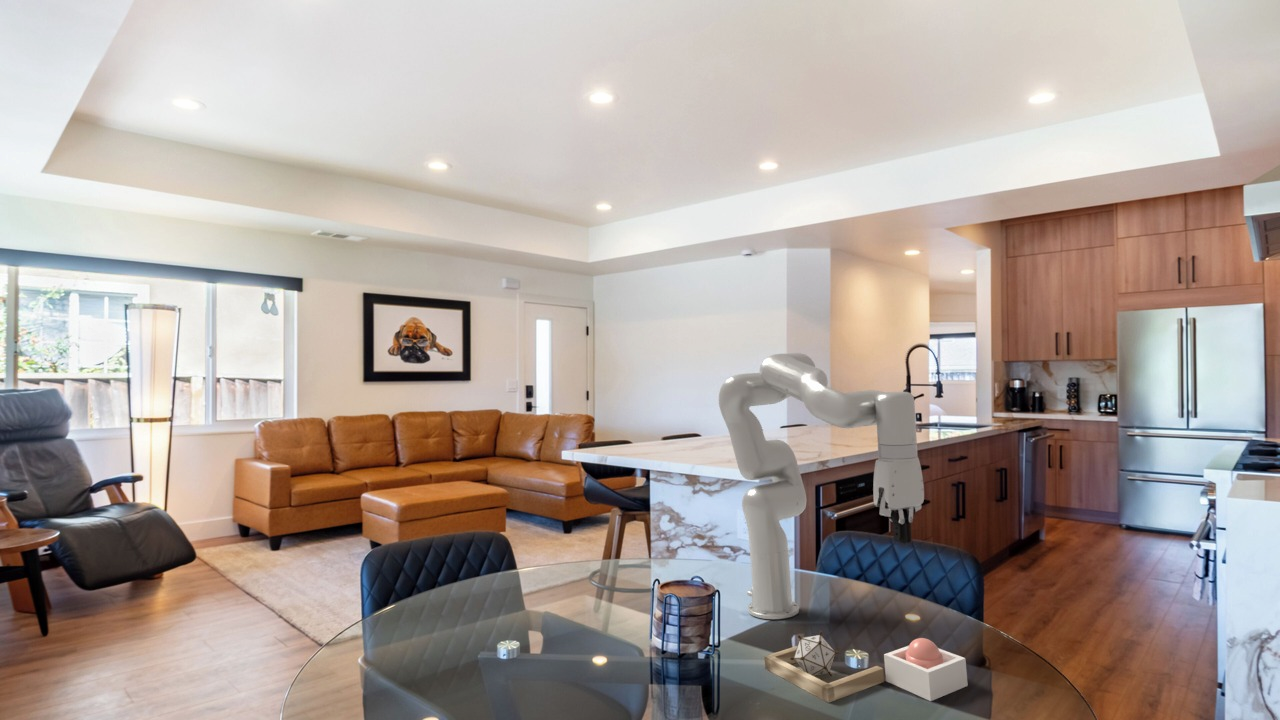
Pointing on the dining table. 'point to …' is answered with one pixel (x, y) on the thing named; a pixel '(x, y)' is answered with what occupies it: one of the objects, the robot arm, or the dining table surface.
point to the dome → (924, 653)
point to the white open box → (926, 674)
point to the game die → (814, 655)
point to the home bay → (815, 686)
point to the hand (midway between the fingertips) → (902, 541)
